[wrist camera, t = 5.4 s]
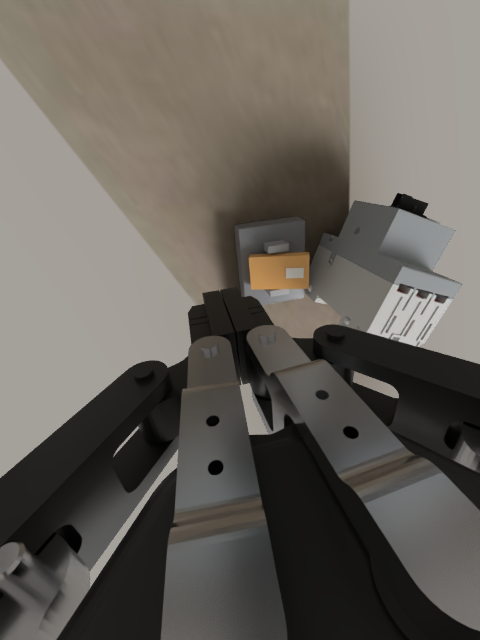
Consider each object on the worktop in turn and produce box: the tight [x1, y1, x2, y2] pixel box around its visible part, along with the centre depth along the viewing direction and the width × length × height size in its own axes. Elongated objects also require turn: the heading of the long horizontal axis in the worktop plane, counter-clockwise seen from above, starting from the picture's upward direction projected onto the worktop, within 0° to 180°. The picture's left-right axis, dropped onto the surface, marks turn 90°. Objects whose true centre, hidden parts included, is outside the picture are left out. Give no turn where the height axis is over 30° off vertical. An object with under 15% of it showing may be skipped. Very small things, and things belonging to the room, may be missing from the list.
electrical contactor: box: [304, 193, 462, 347], centre depth 33 cm, size 8×14×15 cm, turn 164°
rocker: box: [249, 252, 310, 290], centre depth 33 cm, size 4×7×2 cm, turn 96°
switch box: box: [234, 216, 305, 305], centre depth 35 cm, size 10×8×5 cm
